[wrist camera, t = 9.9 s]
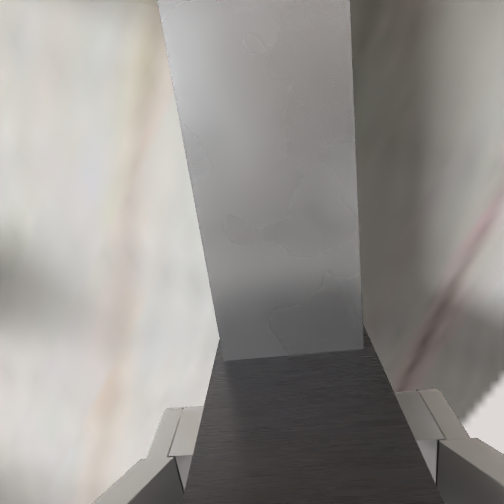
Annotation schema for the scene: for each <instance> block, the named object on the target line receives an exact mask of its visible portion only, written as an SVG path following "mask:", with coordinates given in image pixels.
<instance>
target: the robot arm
mask: <svg viewBox="0 0 504 504" xmlns="http://www.w3.org/2000/svg"><path fill="white" fill-rule="evenodd" d="M394 394H395V396H396V398H397V400H398V402H399V405H400V407H401V409H402V411H403V413H404V416H405V418H406V420H407V422H408V424H409V427H410V429H411V431H412V433H413V435H414V437H415V440H416V442H417V444H418V446H419V448H420V451H421V453H422V455H423V457H424V459H425V462H426V464H427V466H428V468H429V470H430V473H431V475H432V477H433V479H434V481H435V484H436V486H437V488H438V490H439V492H440V495H441V497H442V499H443V501H444V503H445V504H504V454H502V453H500V452H499V451H497V450H496V449H494V448H492V447H491V446H489V445H488V444H486V443H484V442H482V441H481V440H479V439H478V438H470V437H469V435H468V434H467V432H466V430H465V429H464V427H463V426H462V424H461V423H460V421H459V420H458V418H457V416H456V415H455V413H454V412H453V410H452V409H451V407H450V405H449V404H448V402H447V401H446V399H445V398H444V396H443V395H442V393H441V391H440V390H438V389H437V388H433V389H422V390H416V391H403V392H394ZM203 409H204V406H196V407H185V408H167V409H166V410H165V411H164V412H163V415H162V417H161V420H160V423H159V426H158V428H157V431H156V434H155V436H154V439H153V442H152V445H151V447H150V450H149V453H148V455H147V458H146V459H140V460H139V461H138V462H137V463H136V464H135V465H134V466H133V467H132V468H130V469H129V470H128V471H127V472H126V473H125V474H124V475H123V476H122V477H121V478H120V479H118V480H117V481H116V482H115V483H114V484H113V485H112V486H111V487H110V488H109V489H107V490H106V491H105V492H104V493H103V494H102V495H101V496H100V497H99V498H98V499H97V500H95V501H94V502H93V503H92V504H182V499H183V495H184V491H185V486H186V482H187V478H188V473H189V469H190V465H191V460H192V456H193V452H194V447H195V443H196V439H197V435H198V430H199V426H200V422H201V417H202V413H203Z"/></svg>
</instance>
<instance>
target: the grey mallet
mask: <svg viewBox="0 0 504 504" xmlns="http://www.w3.org/2000/svg"><path fill="white" fill-rule="evenodd" d="M157 2H158V7H159V12H160V18H161V23H162V29H163V34H164V39H165V45H166V50H167V56H168V61H169V66H170V72H171V77H172V83H173V88H174V93H175V99H176V104H177V110H178V115H179V121H180V126H181V131H182V137H183V142H184V148H185V153H186V158H187V164H188V169H189V175H190V180H191V185H192V191H193V196H194V202H195V207H196V212H197V218H198V223H199V229H200V234H201V239H202V245H203V250H204V256H205V261H206V266H207V272H208V277H209V283H210V288H211V293H212V299H213V304H214V310H215V315H216V321H217V326H218V331H219V337H220V339H219V344H218V348H217V352H216V357H215V361H214V365H213V370H212V374H211V378H210V383H209V387H208V391H207V396H206V400H205V404H204V409H203V413H202V417H201V422H200V426H199V430H198V435H197V439H196V443H195V447H194V452H193V456H192V460H191V465H190V469H189V473H188V478H187V482H186V486H185V491H184V495H183V499H182V504H445V503H444V501H443V499H442V497H441V495H440V492H439V490H438V488H437V486H436V484H435V481H434V479H433V477H432V475H431V473H430V470H429V468H428V466H427V464H426V462H425V459H424V457H423V455H422V453H421V451H420V448H419V446H418V444H417V442H416V440H415V437H414V435H413V433H412V431H411V429H410V427H409V424H408V422H407V420H406V418H405V416H404V413H403V411H402V409H401V407H400V405H399V402H398V400H397V398H396V396H395V394H394V391H393V389H392V387H391V385H390V383H389V380H388V378H387V376H386V374H385V372H384V369H383V367H382V365H381V363H380V361H379V358H378V356H377V354H376V352H375V350H374V347H373V345H372V343H371V341H370V339H369V336H368V334H367V332H366V330H365V328H364V325H363V322H362V297H361V271H360V246H359V221H358V196H357V170H356V145H355V120H354V94H353V69H352V44H351V19H350V0H157Z"/></svg>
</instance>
